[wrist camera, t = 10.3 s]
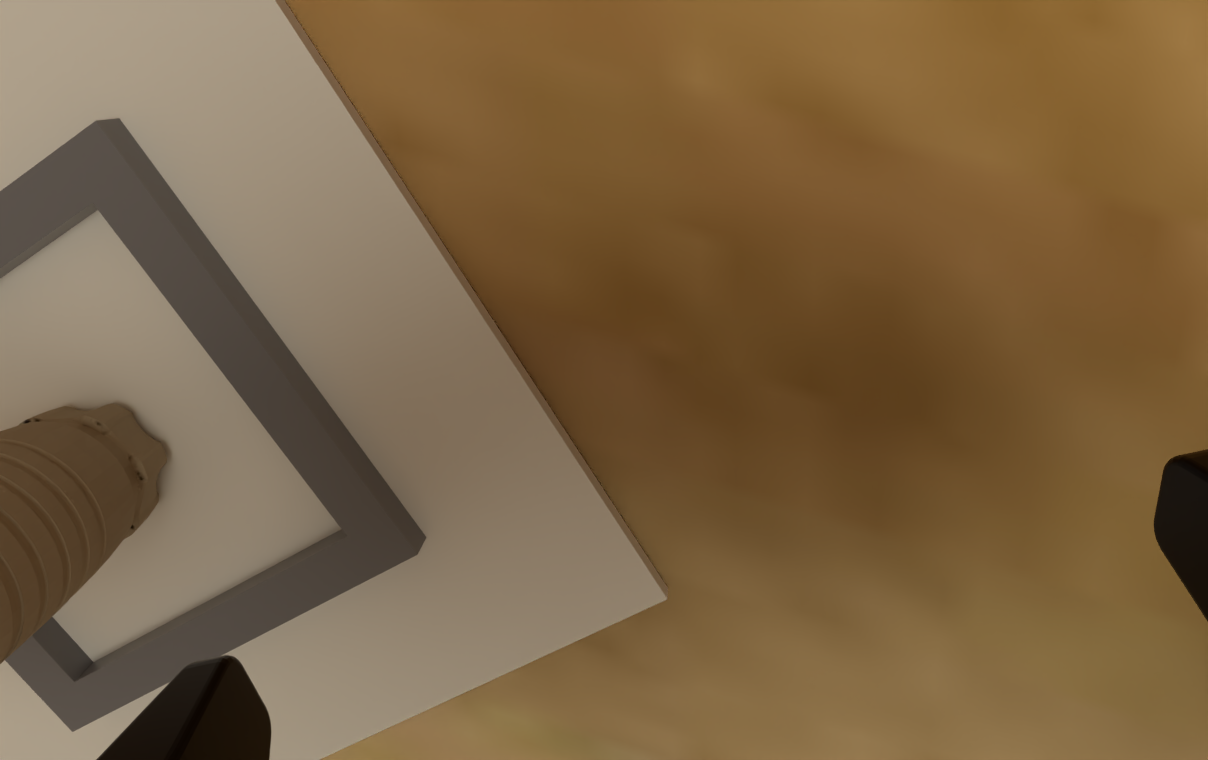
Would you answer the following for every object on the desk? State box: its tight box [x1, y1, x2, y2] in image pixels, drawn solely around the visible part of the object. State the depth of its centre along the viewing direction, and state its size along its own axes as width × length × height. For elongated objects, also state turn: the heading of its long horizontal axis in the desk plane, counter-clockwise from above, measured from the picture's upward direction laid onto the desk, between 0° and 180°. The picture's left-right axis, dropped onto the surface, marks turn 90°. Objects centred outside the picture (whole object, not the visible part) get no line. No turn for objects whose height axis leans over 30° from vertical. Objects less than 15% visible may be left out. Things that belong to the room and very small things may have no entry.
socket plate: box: [0, 0, 668, 760], centre depth 21 cm, size 20×20×1 cm
